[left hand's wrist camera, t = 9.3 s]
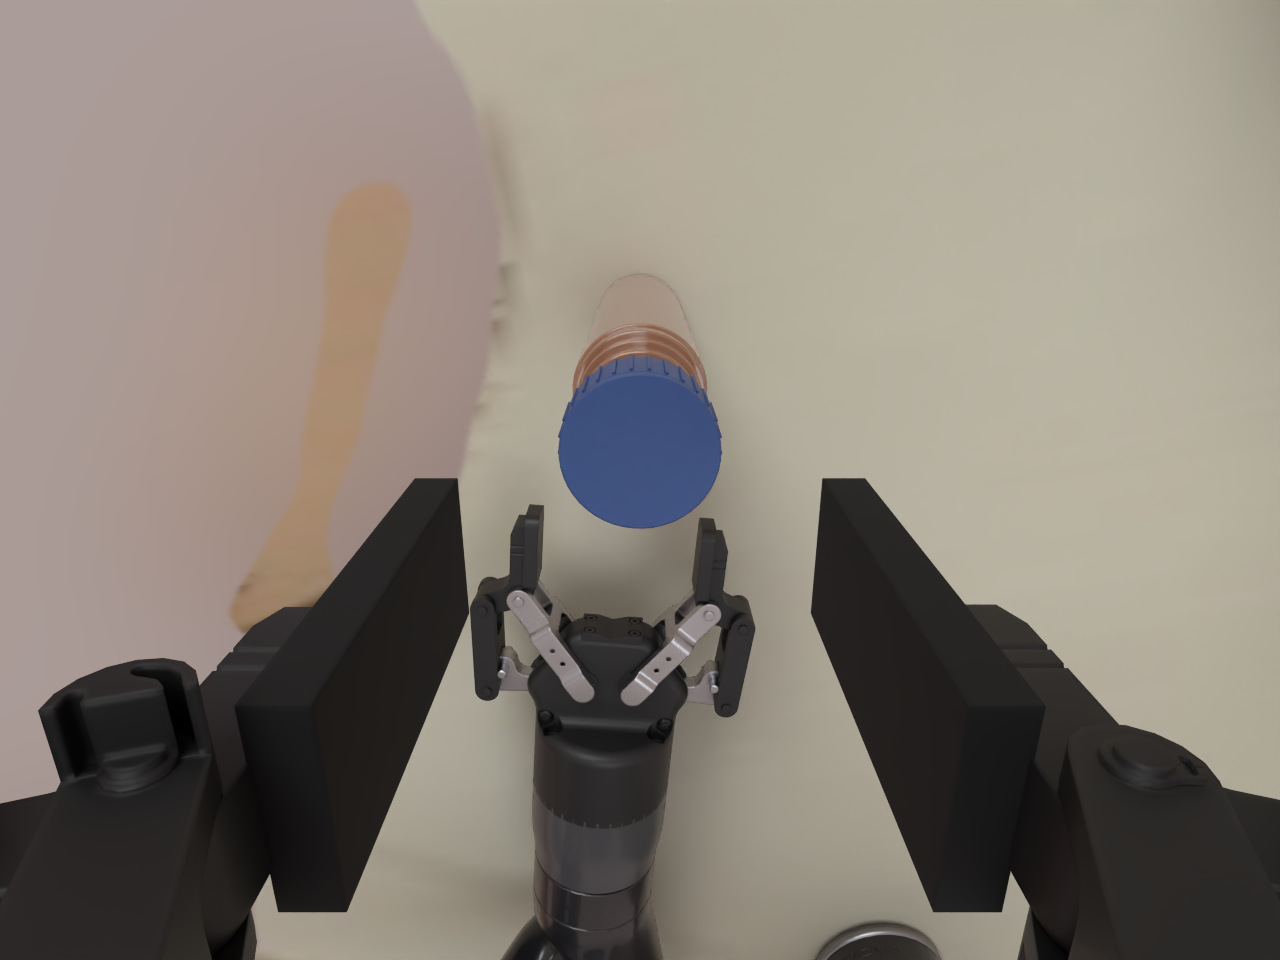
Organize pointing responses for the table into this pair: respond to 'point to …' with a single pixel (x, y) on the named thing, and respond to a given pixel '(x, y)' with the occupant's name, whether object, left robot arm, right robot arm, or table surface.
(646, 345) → the bottle
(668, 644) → the right robot arm
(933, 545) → the table surface
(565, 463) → the cap
